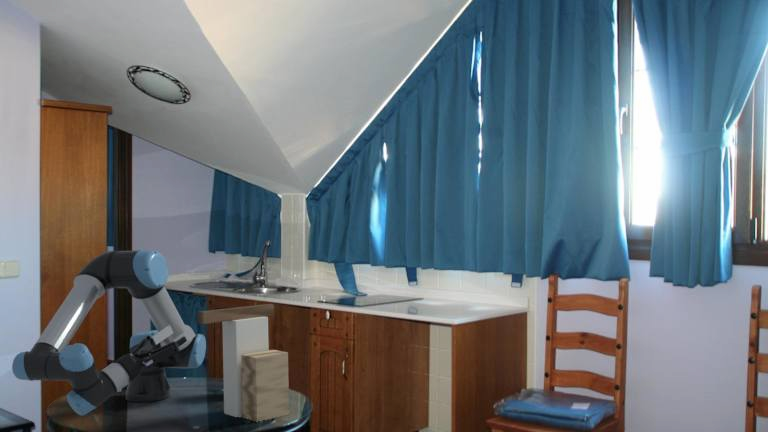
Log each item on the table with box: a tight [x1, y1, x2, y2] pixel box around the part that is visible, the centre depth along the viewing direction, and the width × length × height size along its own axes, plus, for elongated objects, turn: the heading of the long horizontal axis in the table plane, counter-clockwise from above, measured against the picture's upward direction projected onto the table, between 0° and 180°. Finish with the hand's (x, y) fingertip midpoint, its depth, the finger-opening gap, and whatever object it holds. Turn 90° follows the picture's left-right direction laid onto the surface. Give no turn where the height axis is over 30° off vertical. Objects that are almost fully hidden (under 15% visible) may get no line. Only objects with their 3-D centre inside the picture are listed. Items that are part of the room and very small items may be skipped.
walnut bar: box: [197, 303, 275, 325], centre depth 232 cm, size 4×26×4 cm, turn 134°
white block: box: [221, 316, 270, 418], centre depth 234 cm, size 8×12×30 cm, turn 134°
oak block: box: [241, 349, 290, 423], centre depth 228 cm, size 8×12×20 cm, turn 134°
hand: (182, 330), depth 220 cm, fingers open, 13 cm apart
